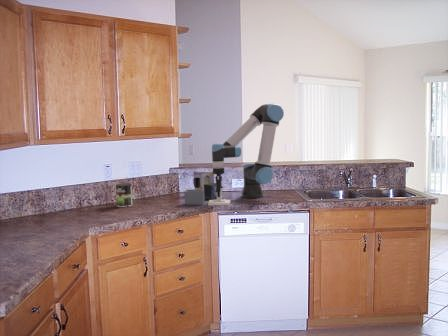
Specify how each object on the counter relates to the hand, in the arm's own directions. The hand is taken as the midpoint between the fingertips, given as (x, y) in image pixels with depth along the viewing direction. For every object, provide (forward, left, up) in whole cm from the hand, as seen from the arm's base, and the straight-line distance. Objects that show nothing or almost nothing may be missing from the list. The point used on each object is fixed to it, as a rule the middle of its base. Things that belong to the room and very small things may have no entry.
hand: (219, 200), depth 314 cm
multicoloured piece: (+62, +1, -2) cm, 62 cm away
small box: (+6, -20, -3) cm, 21 cm away
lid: (0, 0, -3) cm, 3 cm away
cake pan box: (+13, -38, -3) cm, 40 cm away
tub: (+16, 0, -2) cm, 16 cm away
